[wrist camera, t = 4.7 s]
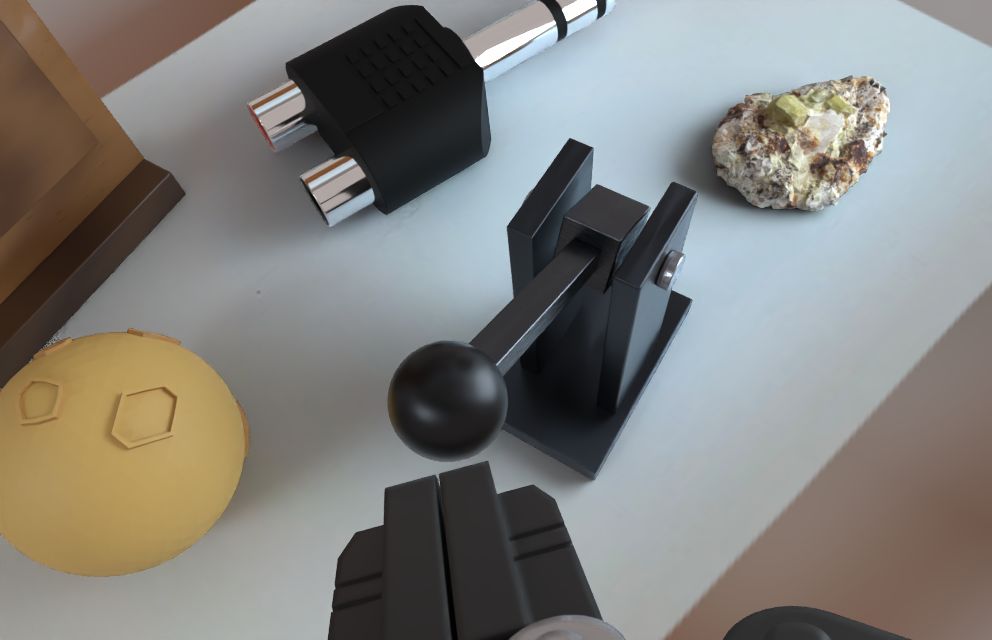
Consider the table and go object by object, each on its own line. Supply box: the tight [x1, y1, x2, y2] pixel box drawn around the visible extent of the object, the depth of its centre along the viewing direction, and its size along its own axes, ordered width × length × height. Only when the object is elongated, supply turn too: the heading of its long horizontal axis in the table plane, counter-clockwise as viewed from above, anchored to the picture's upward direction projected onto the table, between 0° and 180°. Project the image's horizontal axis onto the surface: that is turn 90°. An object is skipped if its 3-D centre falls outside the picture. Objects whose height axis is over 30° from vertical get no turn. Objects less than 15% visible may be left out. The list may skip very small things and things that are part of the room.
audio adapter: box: [246, 0, 616, 227], centre depth 43 cm, size 11×5×25 cm
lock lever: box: [388, 184, 650, 462], centre depth 24 cm, size 13×3×3 cm, turn 149°
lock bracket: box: [502, 138, 698, 480], centre depth 31 cm, size 10×6×13 cm, turn 148°
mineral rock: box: [712, 75, 890, 211], centre depth 41 cm, size 11×4×8 cm
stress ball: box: [0, 328, 250, 577], centre depth 31 cm, size 10×10×10 cm
